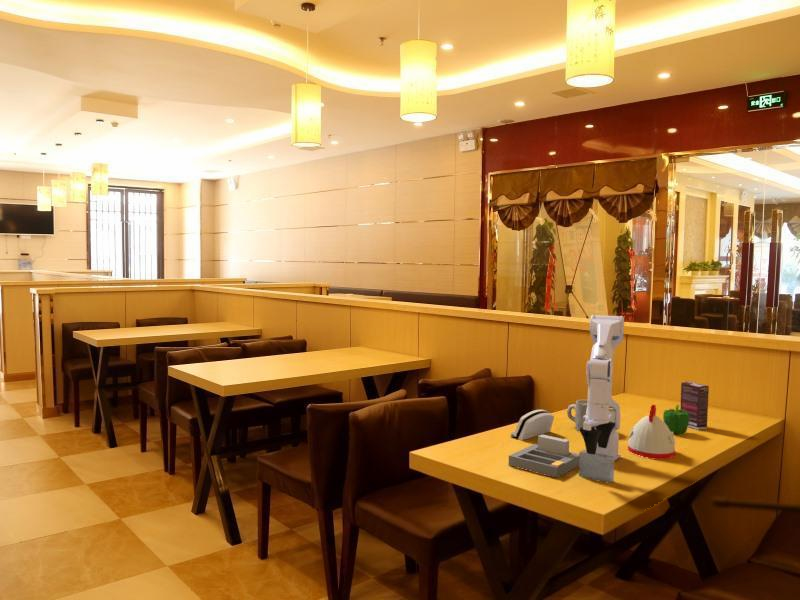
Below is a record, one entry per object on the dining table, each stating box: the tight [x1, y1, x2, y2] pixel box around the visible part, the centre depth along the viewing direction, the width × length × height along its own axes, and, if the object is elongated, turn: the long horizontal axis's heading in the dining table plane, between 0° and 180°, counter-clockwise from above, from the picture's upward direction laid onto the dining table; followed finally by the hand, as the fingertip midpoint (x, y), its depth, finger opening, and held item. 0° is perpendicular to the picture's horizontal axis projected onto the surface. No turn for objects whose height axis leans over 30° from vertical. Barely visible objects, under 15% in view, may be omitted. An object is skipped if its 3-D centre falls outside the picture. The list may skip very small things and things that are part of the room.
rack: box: [508, 434, 580, 479], centre depth 183 cm, size 16×16×7 cm
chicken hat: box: [627, 404, 676, 460], centre depth 197 cm, size 14×14×15 cm
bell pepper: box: [662, 403, 689, 435], centre depth 218 cm, size 8×8×10 cm
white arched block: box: [509, 409, 555, 441], centre depth 214 cm, size 17×5×10 cm, turn 131°
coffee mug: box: [566, 398, 588, 432], centre depth 223 cm, size 13×10×10 cm
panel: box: [578, 449, 615, 484], centre depth 173 cm, size 2×9×7 cm, turn 49°
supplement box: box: [679, 381, 710, 431], centre depth 227 cm, size 9×5×16 cm, turn 22°
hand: (596, 450), depth 172 cm, fingers open, 7 cm apart
